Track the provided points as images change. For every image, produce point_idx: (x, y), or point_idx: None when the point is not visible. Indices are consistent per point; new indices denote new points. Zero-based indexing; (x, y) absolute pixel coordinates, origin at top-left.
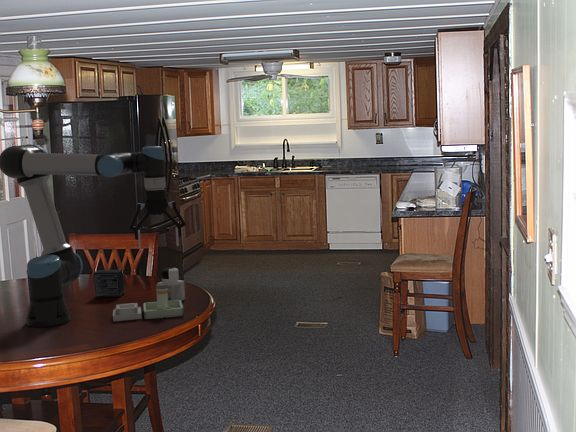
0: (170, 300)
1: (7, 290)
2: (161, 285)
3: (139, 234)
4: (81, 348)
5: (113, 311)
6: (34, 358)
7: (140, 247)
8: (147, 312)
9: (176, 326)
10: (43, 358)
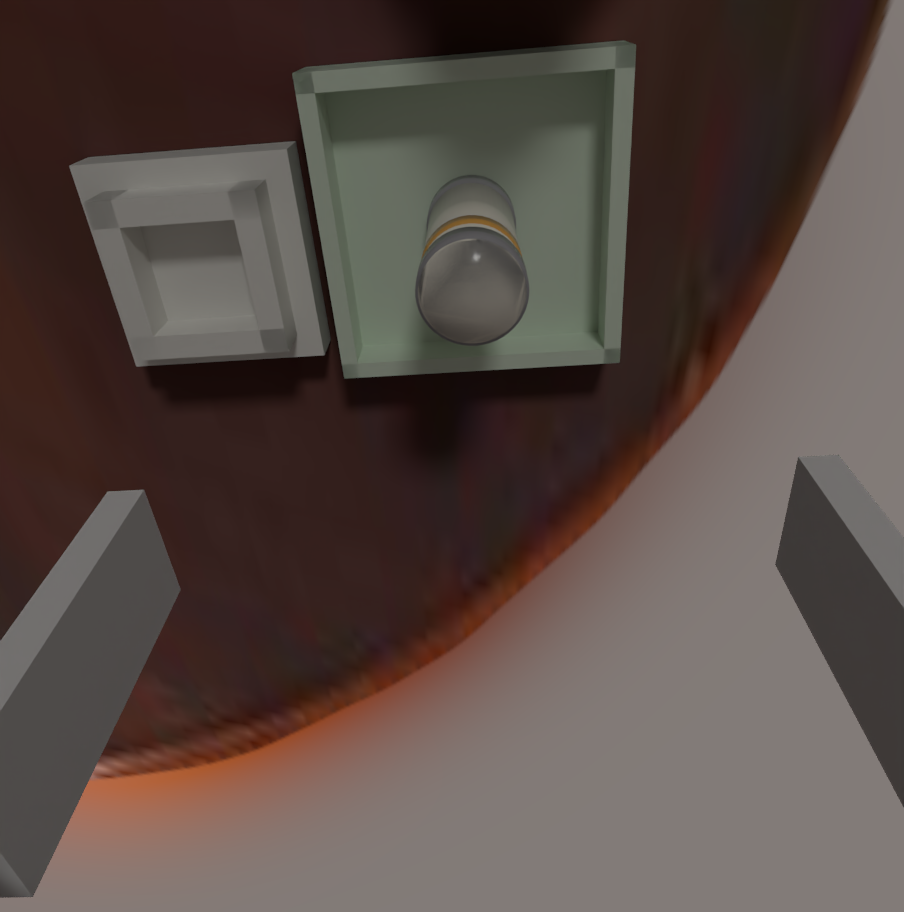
0: (538, 52)
1: None
2: (471, 325)
3: (56, 819)
4: (151, 717)
5: (95, 239)
6: None
7: (163, 605)
8: (368, 374)
9: (547, 541)
10: None
